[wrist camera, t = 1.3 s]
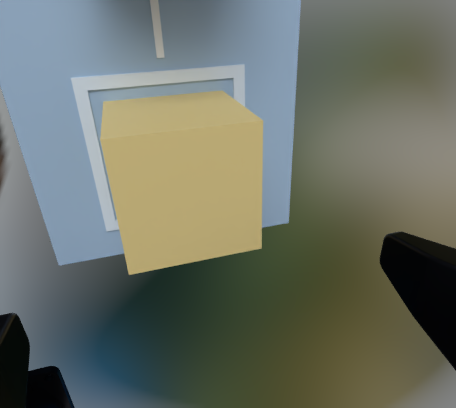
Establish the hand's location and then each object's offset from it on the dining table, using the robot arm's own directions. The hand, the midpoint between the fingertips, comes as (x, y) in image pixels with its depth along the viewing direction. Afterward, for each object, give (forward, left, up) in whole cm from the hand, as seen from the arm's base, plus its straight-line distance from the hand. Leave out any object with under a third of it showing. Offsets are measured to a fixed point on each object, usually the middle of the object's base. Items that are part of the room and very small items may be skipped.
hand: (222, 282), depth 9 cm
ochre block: (0, 0, -9) cm, 9 cm away
